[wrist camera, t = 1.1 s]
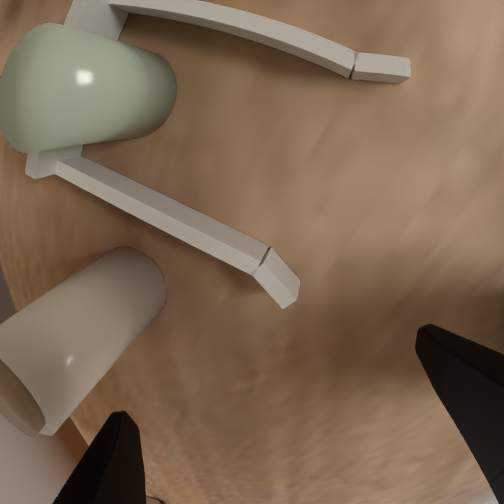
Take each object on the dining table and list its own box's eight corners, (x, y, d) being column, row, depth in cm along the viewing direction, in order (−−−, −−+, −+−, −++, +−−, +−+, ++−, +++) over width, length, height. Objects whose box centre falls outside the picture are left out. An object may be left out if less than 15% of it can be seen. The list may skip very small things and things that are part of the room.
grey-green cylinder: (193, 70, 17) (100, 39, 9) (150, 154, 20) (47, 176, 11) (125, 40, 17) (25, 14, 9) (89, 116, 20) (-13, 125, 11)
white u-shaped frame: (405, 71, 14) (428, 53, 10) (294, 292, 21) (284, 332, 16) (128, -14, 15) (90, -33, 11) (65, 176, 22) (22, 188, 17)
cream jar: (178, 278, 22) (46, 418, 10) (150, 331, 25) (46, 457, 12) (113, 231, 22) (-41, 324, 10) (94, 289, 25) (-27, 386, 12)
